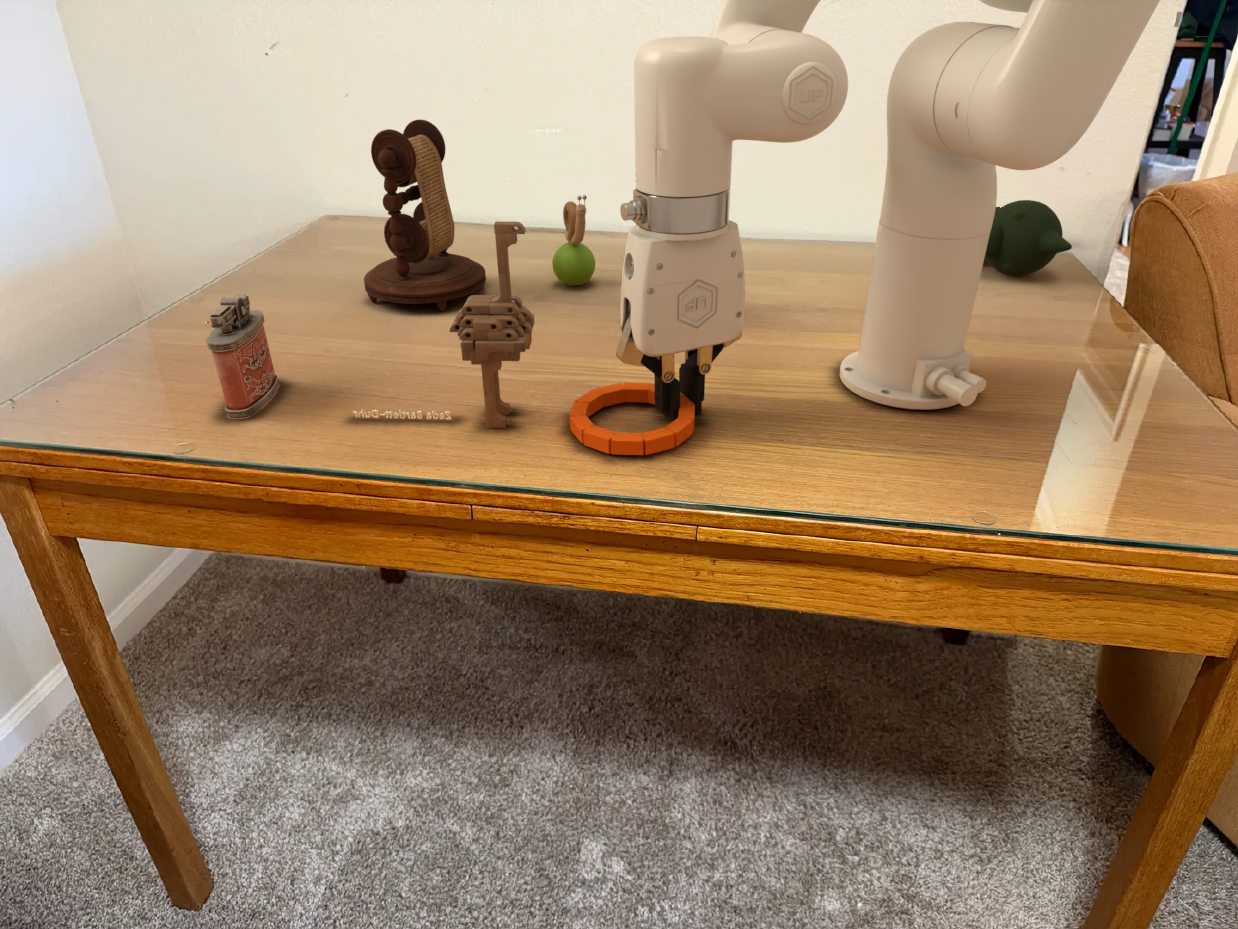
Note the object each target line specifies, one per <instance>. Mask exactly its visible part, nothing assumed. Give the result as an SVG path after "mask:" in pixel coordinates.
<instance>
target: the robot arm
mask: <svg viewBox="0 0 1238 929" xmlns="http://www.w3.org/2000/svg"><path fill="white" fill-rule="evenodd" d="M978 1H979V2H981V3H982V4H984V5H986V6H988V7H991V8H995V9H998V10H1002V11H1008V12H1013V13H1014V12H1015V13H1025V14H1026V15H1025V16H1024V19H1023V22H1022V24H1021V26H1020V27H1014V26H1011V25H1007V24H997V23H996V24H995V23H985V22H976V21H956V22H954V21H953V22H949V23H944V24H940V25H937V26H935V27H932V28H930V29H928V30H926V31H925V32H923V33H922V34H920V35H918V36H917V37H916V38H915V39H914V40H912V41H911V42H910V43H909V45H908V46H907V47H906V48H905V49H904V51H903V52H902V53H901V55H900V56H899V58H898V59H897V61H896V63H895V65H894V68H893V71H892V73H891V76H890V79H889V82H888V83H889V84H888V90H887V96H886V142H887V146H886V147H887V148H886V149H887V150H886V151H887V152H886V169H885V180H884V186H883V187H884V188H883V195H882V202H881V209H880V216H879V220H878V227H877V233H876V238H875V247H874V252H873V259H872V264H871V272H870V278H869V283H868V284H869V285H868V290H867V297H866V305H865V309H864V315H863V322H862V329H861V334H860V341H859V348H858V350H857V351H856V350H855V351H854V352H853V351H852V352H851V353H850V354H848V355H846V356H845V357H844V358H843V359H842V361H841V363H840V366H839V378H840V381H841V383H842V384H843V385H844V386H845V387H846V388H847V389H848V390H849V391H851V392H852V393H853V394H856V395H857V396H859V397H861V398H863V399H865V400H868V401H870V402H872V403H873V402H874V403H877V404H880V405H884V406H888V407H893V408H897V409H905V410H917V411H918V410H920V411H922V410H923V411H924V410H926V411H928V410H939V409H940V410H941V409H945V408H946V409H947V408H950V407H954V406H956V405H961V406H962V407H969V406H970V405H972V404H973V402H975V401H976V399H977V397H978V394H980V393H982V392H983V391H984V390H985V388H986V387H987V380H986V379H985V378H983V377H981V376H979V375H977V374H975V373H971V372H970V366H971V360H972V355H973V353H972V352H971V351H968V350H967V349H965V346H966V342H967V337H968V333H969V328H970V324H971V320H972V315H973V311H974V306H975V301H976V297H977V293H978V288H979V283H980V279H981V275H982V270H983V266H984V261H985V259H984V258H985V253H986V249H987V244H988V240H989V235H990V231H991V228H992V224H993V219H994V215H995V209H996V207H997V200H998V198H997V197H998V176H997V167H1001V168H1005V169H1009V170H1015V171H1031V170H1032V171H1033V170H1037V169H1042V168H1045V167H1047V166H1049V165H1051V164H1053V163H1054V162H1056V161H1058V160H1059V159H1061V158H1062V157H1064V156H1065V155H1066V154H1067V153H1069V152H1070V150H1071V149H1073V147H1075V146H1076V144H1077V143H1078V142H1079V141H1080V140H1081V138H1082V137H1083V136H1084V135H1085V134H1086V132H1087V131H1088V129H1089V128H1090V126H1091V124H1092V123H1093V122H1094V120H1095V119H1096V117H1097V115H1098V114H1099V112H1100V110H1101V108H1102V106H1103V105H1104V103H1105V102H1106V100H1107V98H1108V96H1109V94H1110V92H1111V91H1112V89H1113V87H1114V85H1115V84H1116V81H1117V80H1118V78H1119V76H1120V75H1121V72H1122V70H1123V69H1124V67H1125V65H1126V63H1127V62H1128V60H1129V58H1130V56H1131V54H1132V53H1133V50H1134V49H1135V47H1136V45H1137V43H1138V42H1139V40H1140V39H1141V36H1142V34H1143V32H1144V31H1145V29H1146V27H1147V25H1148V24H1149V22H1150V20H1151V19H1152V16H1153V14H1154V12H1155V10H1156V8H1157V7H1158V5H1159V3H1160V2H1161V0H978ZM820 2H821V0H724V2H723V4H722V6H721V9H720V11H719V13H718V16H717V18H716V20H715V22H714V25H713V28H712V30H711V32H710V35H709V36H670V37H661V38H656V39H655V38H654V39H652V40H649V41H647V42H644V43H643V44H642V45H641V46H640V47H639V48H638V50H637V52H636V54H635V58H634V63H633V64H634V66H633V103H634V107H633V108H634V110H633V112H634V114H633V115H634V177H635V178H634V179H635V182H634V183H635V184H634V186H635V189H633V190H632V195H633V197H632V198H633V199H632V200H629V202H624V203H621V204H620V215H621V219H622V220H623V221H624V222H625V221H632V222H633V223H634V224H635V226H631V227H630V228H629V230H628V233H627V234H628V235H627V237H626V238H627V239H626V244H625V249H624V254H623V255H624V256H623V263H622V271H621V280H620V282H621V284H620V302H619V304H620V305H619V306H620V308H619V316H620V321H619V322H620V331H621V336H620V339H619V342H618V345H617V348H616V351H615V356H616V358H617V359H618V360H619V361H620V362H621V363H623V364H624V365H631V366H637V367H645V368H646V369H647V370H649V371H650V372H651V373H652V374H654V384H655V404H654V406H655V407H656V409H657V410H658V411H659V412H661V414H663V415H664V416H665V417H666V418H667V420H669V421H670V422H671V423H672V422H673V421H674V420H676V419H677V418H678V416H679V408H680V392H681V393H682V394H683V395H684V396H686V397H687V398H688V399H689V400H690V401H691V402H693V403H694V405H695V417H698V416H701V415H702V413H703V412H702V409H703V402H704V401H705V391H706V390H705V389H706V388H705V387H706V375H708V374H709V373H710V372H711V370H712V364H713V362H714V361H715V360H716V358H717V357H718V356H719V355H720V354H721V352H722V351H723V349H726V348H727V347H729V346H731V345H732V344H733V343H735V342H737V341H739V340H740V339H741V338H742V337H743V330H744V328H745V320H746V319H745V318H746V317H745V316H746V315H745V314H746V290H745V289H746V284H745V283H746V282H745V264H744V255H743V248H742V241H741V235H740V234H741V233H740V229H739V224H738V223H737V222H735V221H734V220H730V206H731V186H732V185H731V184H732V183H731V182H732V164H733V163H732V161H733V143H734V141H757V142H758V141H759V142H768V143H781V144H784V143H785V144H786V143H788V144H789V143H798V142H802V141H806V140H808V139H812V138H813V137H816V136H818V135H819V134H822V133H823V132H824V131H825V130H827V129H828V128H829V127H830V126H831V125H832V124H833V123H834V122H835V121H836V120H837V119H838V117H839V115H840V114H841V112H842V110H843V108H844V106H845V104H846V101H847V98H848V91H849V75H848V71H847V68H846V64H845V63H844V61H843V59H842V57H841V55H840V54H839V53H838V51H837V50H836V49H835V48H834V47H833V46H832V45H830V44H829V43H828V42H826V41H825V40H823V39H821V38H820V37H818V36H815V35H812V34H809V33H806V32H803V31H804V28H805V27H806V25H807V23H808V21H809V20H810V17H811V16H812V14H813V13H814V11H815V9H816V8H817V6H818V5H819V3H820ZM996 166H997V167H996ZM679 353H684V360H685V361H684V362H683V363H680V367H679V369H678V379H677V378H676V371H675V370H676V368H675V367H676V366H675V364H676V362H675V359H676V358H675V354H679Z"/></svg>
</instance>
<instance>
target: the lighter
mask: <svg viewBox="0 0 1238 929" xmlns="http://www.w3.org/2000/svg"><path fill="white" fill-rule="evenodd" d="M219 304H220V305H219V306H217V307H216V308H215V309H214V310H213V311H212V312H211V313H210V314H209V316H208V318H209V321H210V322H209V323H210V325H211V328H212V329H213V330H212V331H211V332H210V334H208V337H207V338H206V340H205V341H206V342H205V343H206V346H207V349H208V350H209V351H210V352H211V355H212V358H213V361H214V365H215V369H216V373H217V376H218V380H219V383H220V388H221V391H222V394H223V399H224V402H225V405H224V411H225V414H226V417H227V418H228V419H231V420H244V419H248V418H251V417H253V416H255V415H256V414H258V413H259V412H261V411H262V410H263V409H264V408H265V407H266V406H267V405H268V404H269V403H270V402H271V401H272V400H273V398H274V397H275V396H276V394H277V393H278V390H279V388H280V386H281V385H280V380H279V376H278V375H277V374H276V372H275V368H274V364H273V359H272V355H271V352H270V347H269V342H268V339H267V335H266V329H265V326H264V324H265V316H264V313H263V312H262V311H261V310H256V309H255V310H253V309H252V310H250V309H251V306H250V305H251V301H250V298H249V294H248V293H245V292H244V293H243V292H241V293H235V294H234V295H233V296H232V297H227V296H226V297H225V296H224V297H222V298H221V299H220V303H219Z"/></svg>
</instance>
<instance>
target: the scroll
mask: <svg viewBox="0 0 1238 929" xmlns="http://www.w3.org/2000/svg"><path fill="white" fill-rule="evenodd" d="M370 152H371V159H372V162H373V165H374V167H375V169H376V170H377V171H378V173H379V174H380V175H381V176H382V177H384V179H383V180H384V181H383V188H384V191H385V192H386V193H385V194H384V195H383V197H382V206H383V208H384V210H386V211H387V215H389V216H390V217H388V219H387V221H386V222H385V224H384V228H383V236H384V241H385V243H386V245H387V248H388V250H390V252H391V254H393V256H394V257H393V258H389V259H387V260H385V261H382V262H380V263H379V264H377V265H375V266H374V267H373V268H371V269H369V271H367V273H365V275H364V278H363V284H364V290H365V292H366V293H367V296H368V299H369V300H370V301H371V303H372V304H373V303H377V302H378V300H379V301H380V300H381V301H383V302H388V303H396V304H408V305H409V304H410V305H411V304H412V305H417V304H433V303H436V306H437V308H438V310H439V311H440V312H445V310H446V308H447V302H448V301H451V300H456V299H460V298H462V297H466V296H468V295H472V294H473V293H475V292H477V291H478V290H480V289H481V288H482V287H483V286H484V285H486V282H487V276H486V268H485V267H484V266H483V265H482V264H480V262H477V261H475V260H473V259H471V258H469V257H467V256H463V255H461V254H455V253H449V252H448V250H449V248H451V247H452V245H453V244H454V240H455V221H454V218H453V213H452V209H451V205H450V204H451V203H450V200H449V197H448V192H447V187H446V182H445V176H444V170H443V169H444V168H443V161H444V159H445V156H446V141H445V139H444V136H443V135H442V133H441V131H440V129H439V128H438V127H437V126H436V125H435V124H433V123H432V122H431V121H428V120H426V119H414V120H412V121H410V122H409V123H408V124H406V126H405V128H404V129H403V132H400V131H398V130H396V129H389V128H387V129H383V130H381V131H379V132H378V133H377V134H376V135H375V136H374V137H373V139H372V142H371V147H370ZM416 183H417V184H416ZM413 184H415V185H413ZM406 187H408V188H407V189H405V191H399V192H397V191H398V189H399V188H406ZM418 200H421V201H420V202H419V203H418V204H417V205H416V206H415V209H414V211H413V215H412V216H411V215H409V214H406V213H402V211H401V210H402V209H403V207H404V206H405V205H407V204H408V203H409V202H413V201H418Z"/></svg>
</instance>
